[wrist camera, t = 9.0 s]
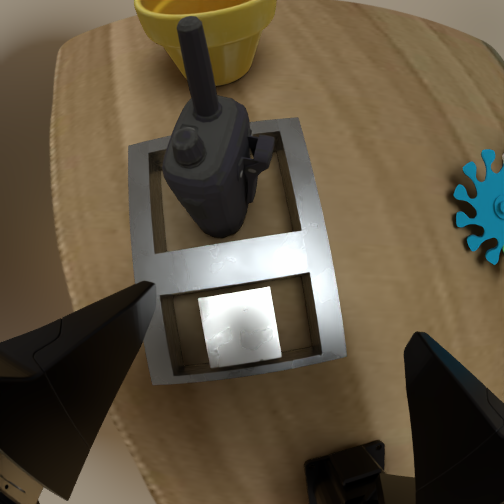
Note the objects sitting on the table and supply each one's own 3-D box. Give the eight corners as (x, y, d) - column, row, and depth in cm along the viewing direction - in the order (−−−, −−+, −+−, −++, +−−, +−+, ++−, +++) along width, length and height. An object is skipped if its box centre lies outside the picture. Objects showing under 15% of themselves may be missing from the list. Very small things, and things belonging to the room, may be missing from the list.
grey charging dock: (333, 348, 19) (347, 356, 16) (165, 373, 19) (152, 385, 16) (292, 138, 22) (298, 117, 19) (141, 163, 21) (128, 145, 18)
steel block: (275, 345, 20) (281, 356, 16) (218, 354, 19) (210, 368, 15) (265, 288, 20) (269, 286, 16) (208, 298, 20) (198, 298, 16)
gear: (437, 163, 20) (532, 133, 13) (441, 168, 24) (519, 143, 18) (469, 290, 20) (562, 265, 13) (468, 273, 24) (546, 251, 18)
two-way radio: (212, 166, 21) (167, -7, 7) (271, 178, 21) (301, 2, 6) (192, 237, 21) (84, 115, 6) (254, 251, 20) (265, 135, 6)
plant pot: (143, 98, 22) (105, 21, 13) (184, 29, 24) (168, -41, 14) (256, 113, 22) (259, 21, 12) (280, 40, 24) (289, -37, 14)
